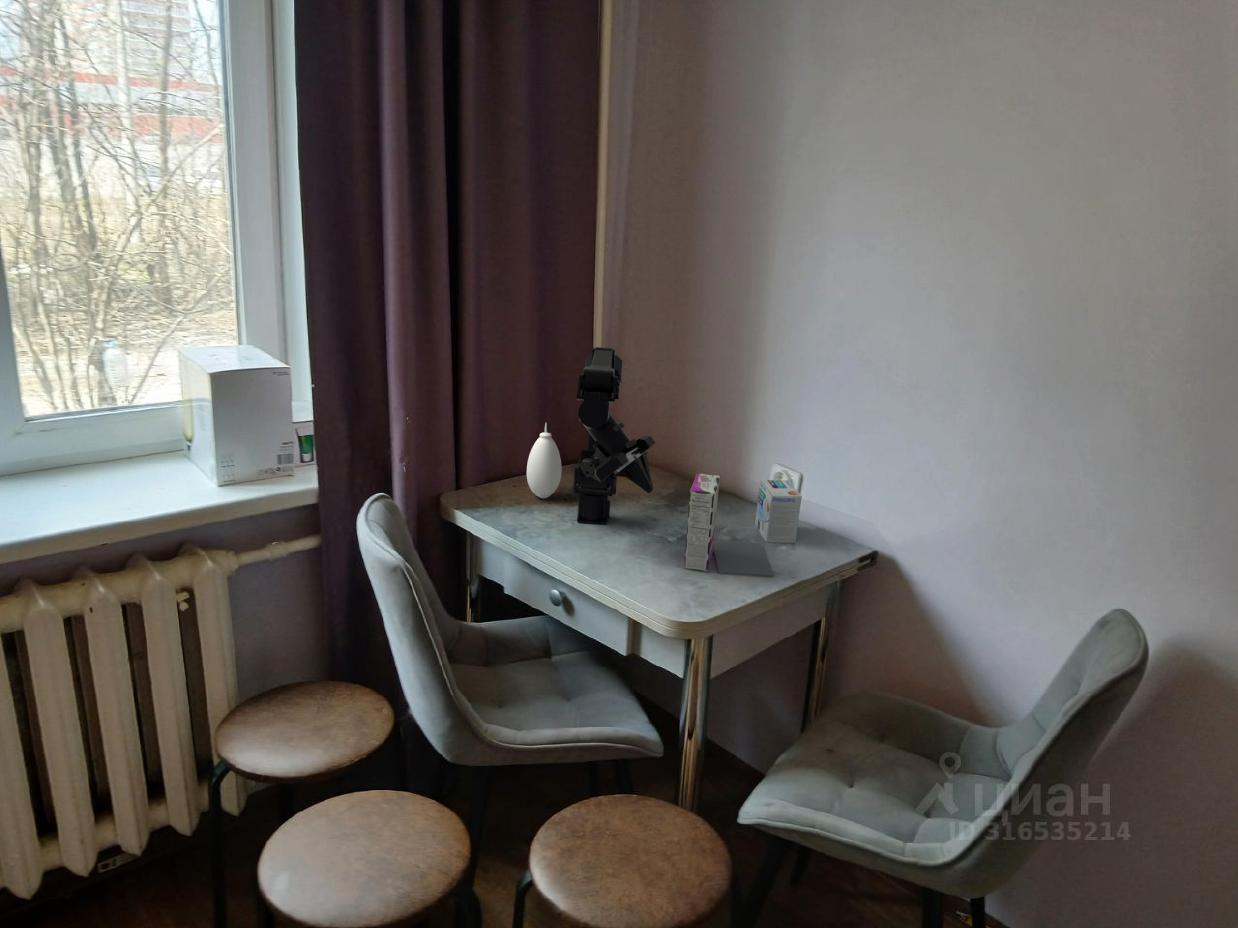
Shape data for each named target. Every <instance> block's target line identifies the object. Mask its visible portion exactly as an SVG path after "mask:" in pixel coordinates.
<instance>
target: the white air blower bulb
mask: <svg viewBox="0 0 1238 928" xmlns="http://www.w3.org/2000/svg"><path fill="white" fill-rule="evenodd" d="M547 425H548V423H547V422H545V425H544V432H541V433H539V437H538V438H537V440H536V441H535V442H534V444H533V445H532V447H531V450H530V452H529V454H528V455H529V456H528V459H527V464H526V465H527V466H526V480H527V484H528V486H529V489H530V491H531V492H532V493H533V494H535V496H537V497H538V498H540V499H547V498H549V497H551V496H552V494H554V493H555V492H556V491H557V489H558V488H559V485H560V484H561V483H560V482H561V479H562V460H561V456H560V455H561V454H560V451H559V448H558V446H557V444H556V442H555V440H554V439H553V438H552V433H550V432H548V429H547V427H548V426H547Z"/></svg>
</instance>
